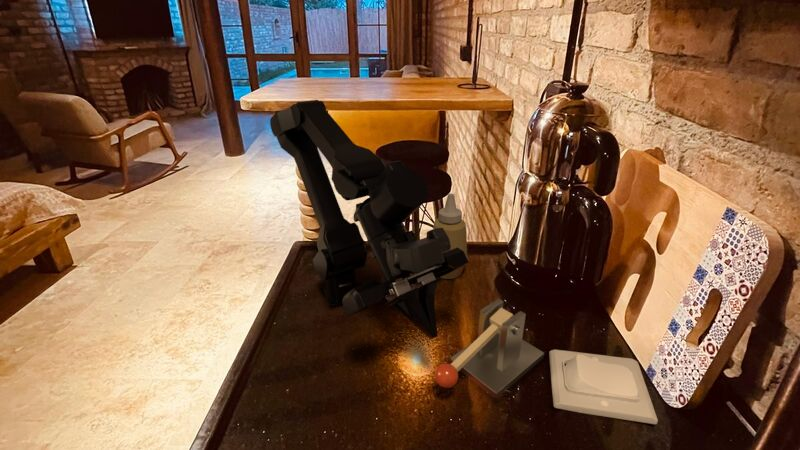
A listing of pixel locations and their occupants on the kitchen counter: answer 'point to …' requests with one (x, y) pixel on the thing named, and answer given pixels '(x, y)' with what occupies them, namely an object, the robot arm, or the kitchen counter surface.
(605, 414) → the light switch
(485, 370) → the bracket
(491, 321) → the lever
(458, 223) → the squeeze bottle
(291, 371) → the kitchen counter surface
